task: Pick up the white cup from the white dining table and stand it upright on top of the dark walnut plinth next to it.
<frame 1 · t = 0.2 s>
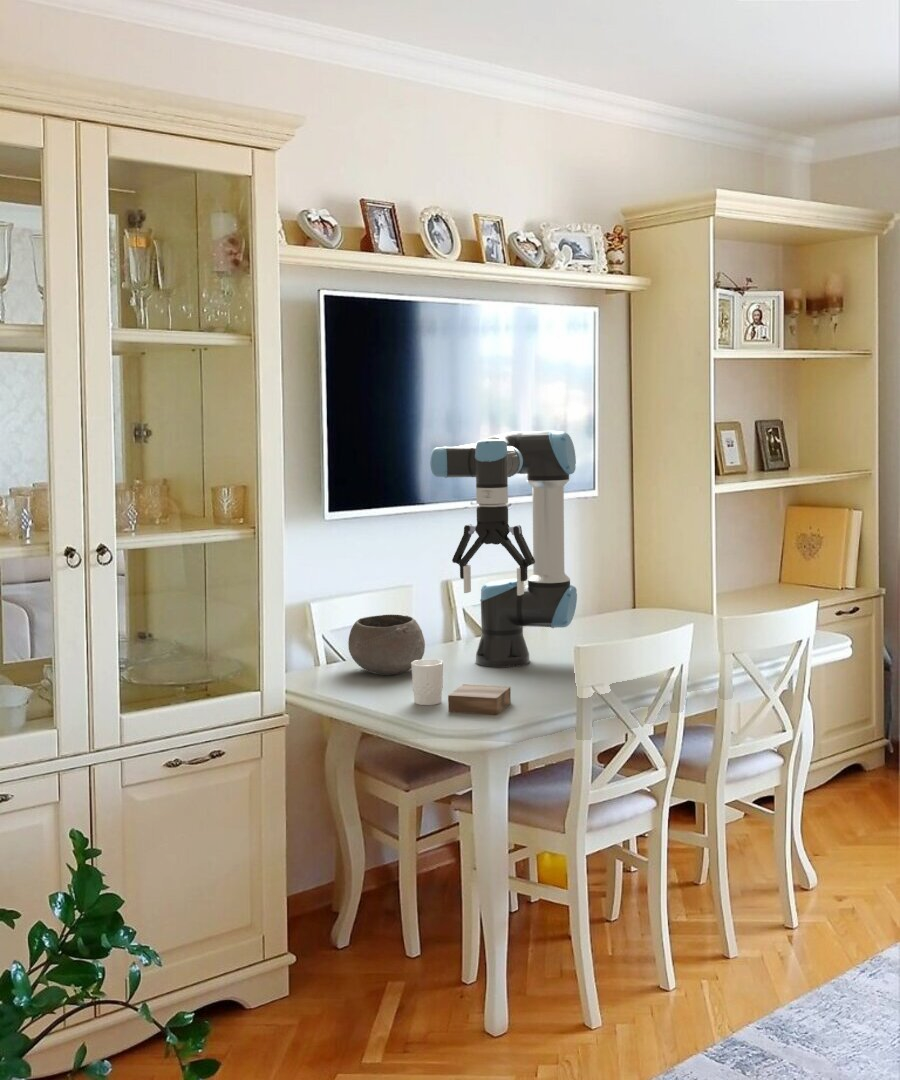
hand: (493, 593, 300), 28 cm above the table, fingers open, 13 cm apart
clay pot: (387, 673, 343), on the table
walnut plinth: (480, 707, 303), on the table
white cup: (428, 703, 309), on the table
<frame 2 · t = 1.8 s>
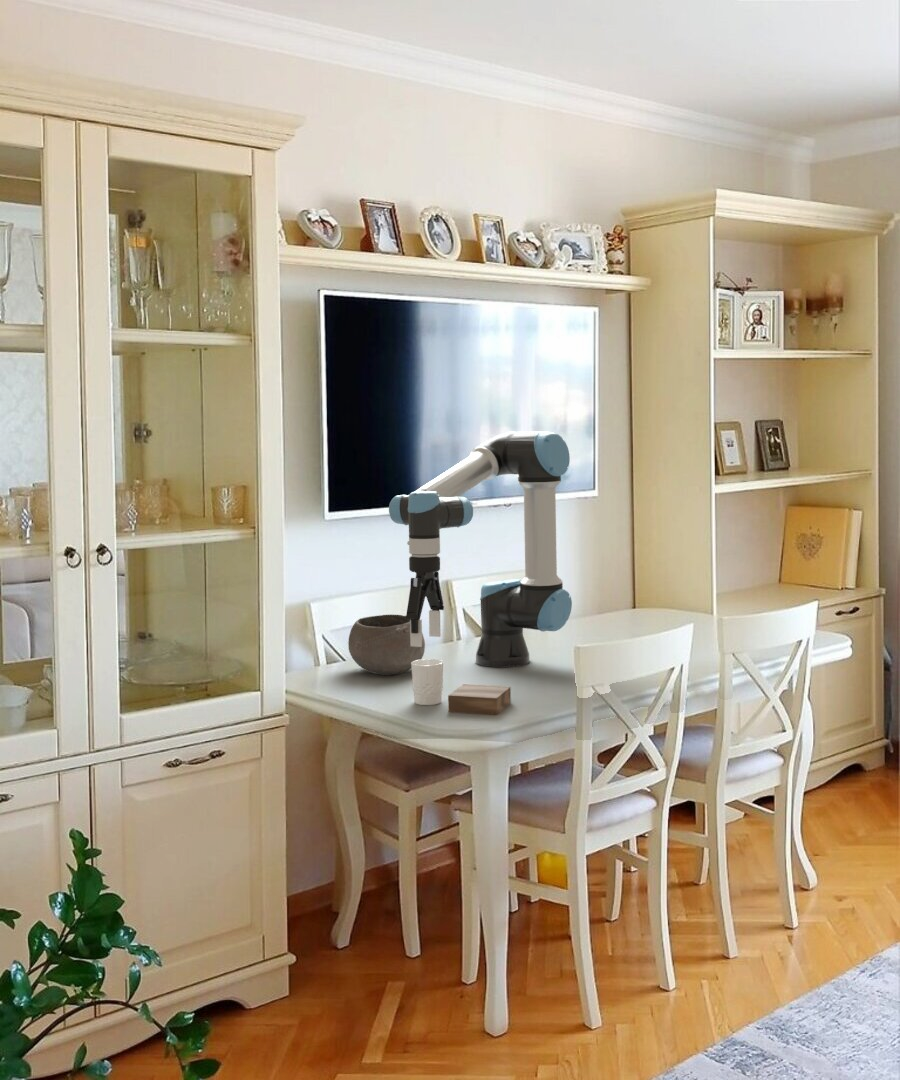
hand: (425, 641, 307), 15 cm above the table, fingers open, 13 cm apart
nothing on the table moved.
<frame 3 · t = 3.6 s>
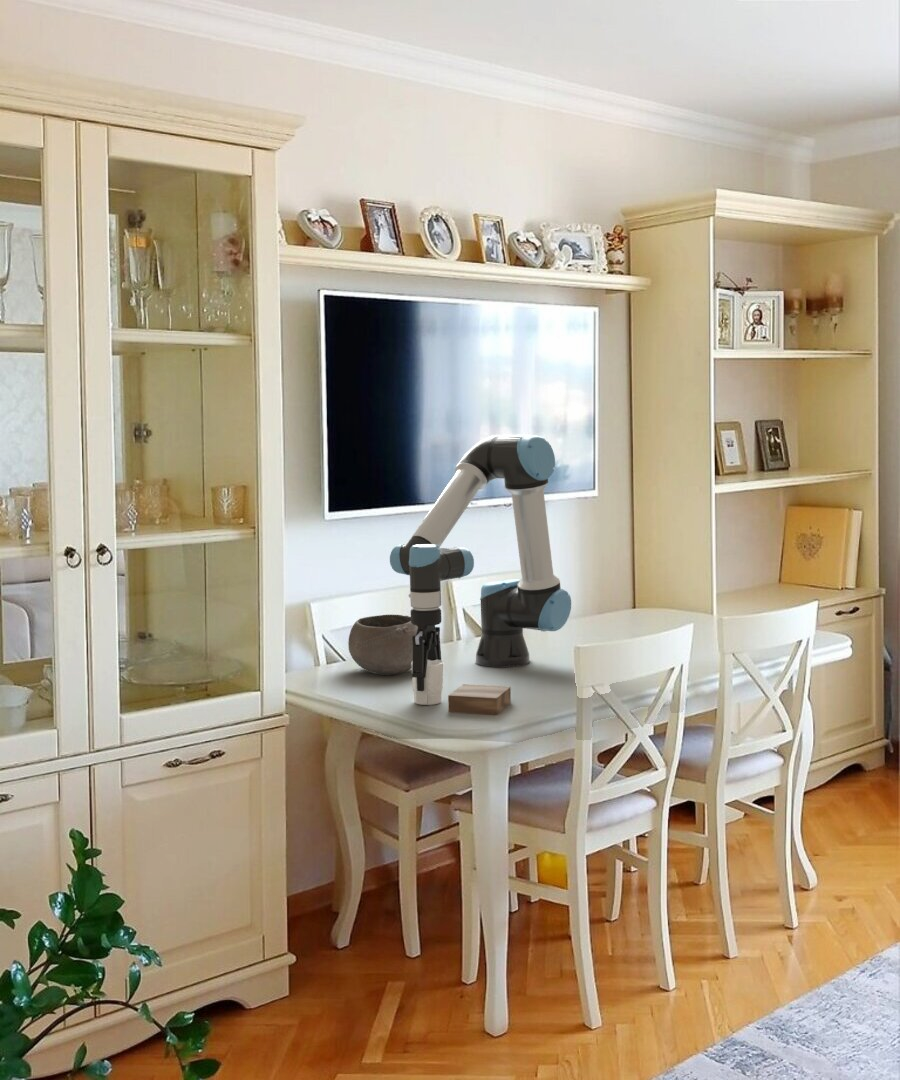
hand: (427, 699, 309), 1 cm above the table, fingers closed on white cup, 8 cm apart
white cup: (428, 702, 309), on the table, touching gripper
everything else where it was.
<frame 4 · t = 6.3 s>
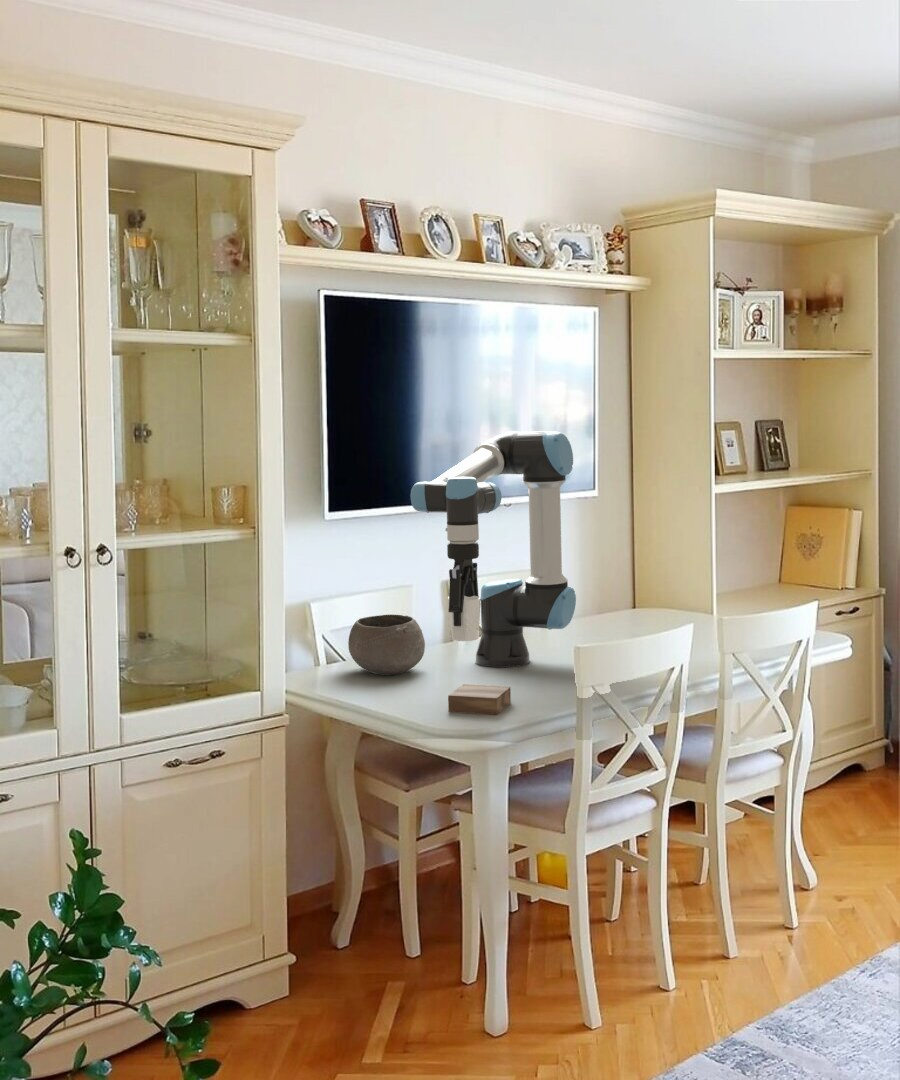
hand: (464, 635, 302), 17 cm above the table, fingers closed on white cup, 8 cm apart
white cup: (464, 639, 302), point 16 cm above the table, touching gripper
everything else where it was.
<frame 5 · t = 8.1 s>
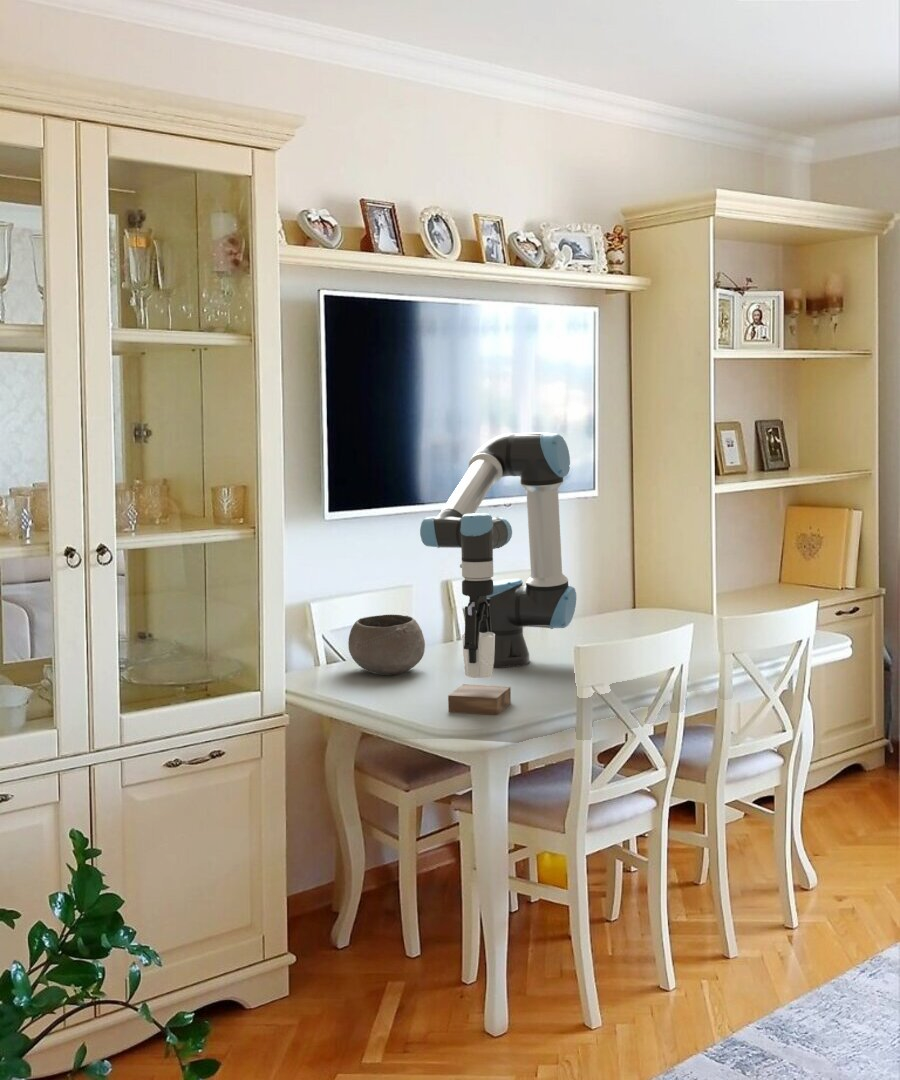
hand: (479, 672, 302), 9 cm above the table, fingers closed on white cup, 8 cm apart
white cup: (479, 675, 302), point 8 cm above the table, touching gripper
everything else where it was.
when the fingers open (7 cm above the table, at t = 9.3 s): white cup drops 2 cm, resting on walnut plinth.
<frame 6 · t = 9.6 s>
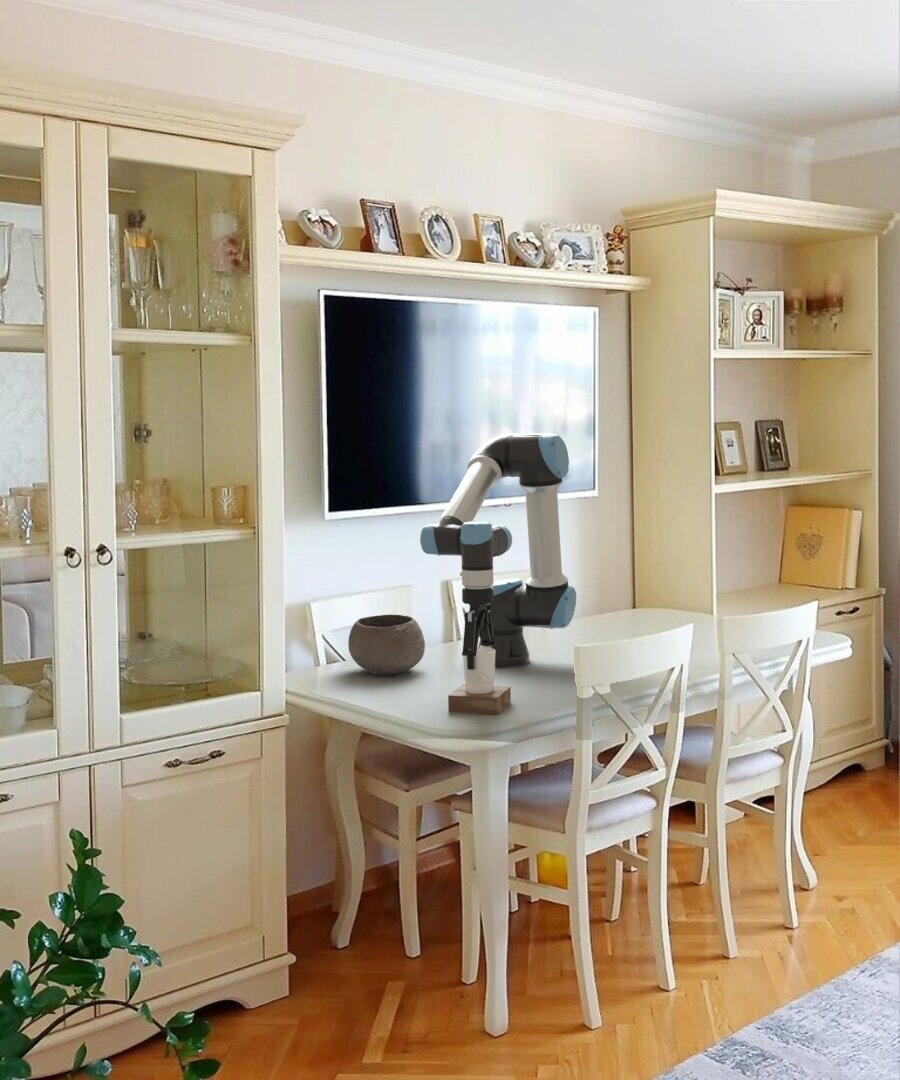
hand: (479, 677, 302), 7 cm above the table, fingers open, 10 cm apart
white cup: (479, 691, 302), point 4 cm above the table, touching walnut plinth
everything else where it was.
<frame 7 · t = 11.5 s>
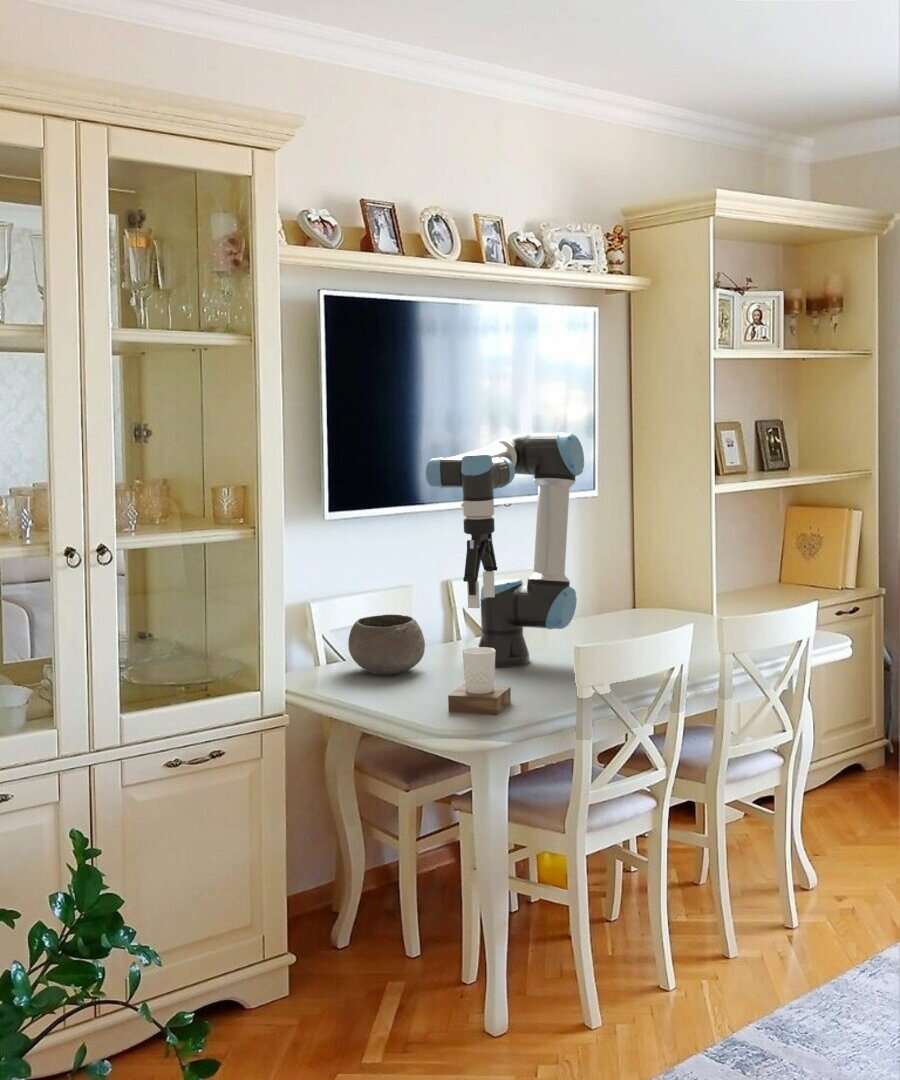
hand: (481, 602, 309), 24 cm above the table, fingers open, 13 cm apart
nothing on the table moved.
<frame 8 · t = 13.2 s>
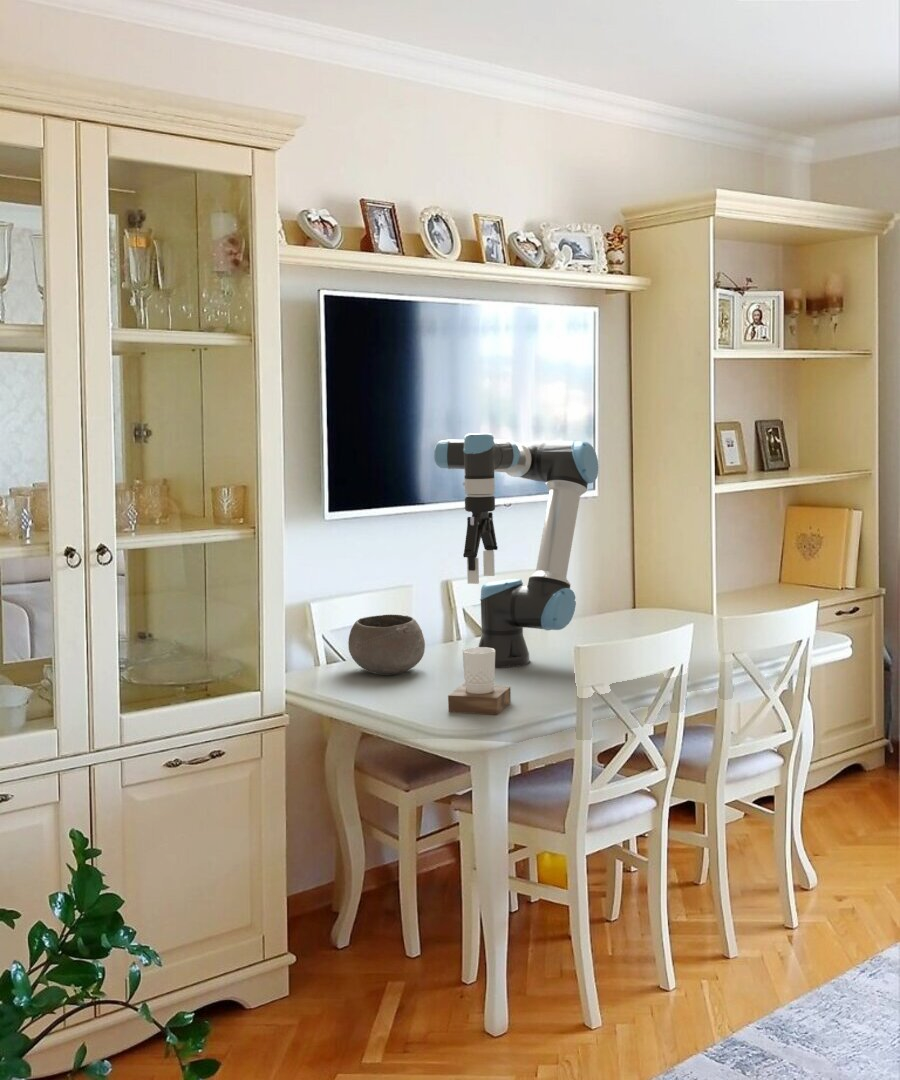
hand: (481, 579, 316), 29 cm above the table, fingers open, 13 cm apart
nothing on the table moved.
at the end: white cup inside the target area on the walnut plinth (0.1 cm from its centre), point 3.8 cm above the walnut plinth's base; white cup tilted 0°; the gripper is holding nothing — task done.
